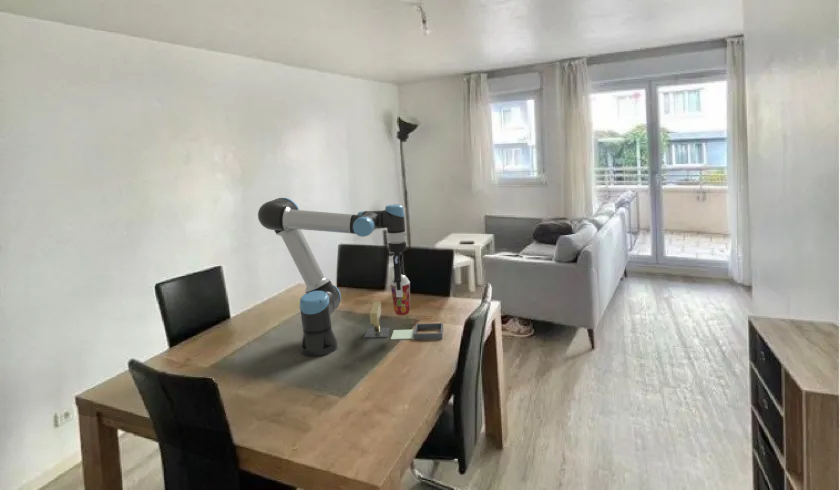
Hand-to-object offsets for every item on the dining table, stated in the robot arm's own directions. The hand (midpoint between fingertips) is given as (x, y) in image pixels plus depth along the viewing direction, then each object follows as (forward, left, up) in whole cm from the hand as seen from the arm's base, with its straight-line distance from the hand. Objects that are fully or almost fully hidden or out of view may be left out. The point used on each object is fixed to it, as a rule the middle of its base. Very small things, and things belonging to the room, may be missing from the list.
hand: (400, 293), depth 212 cm
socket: (+11, +1, -19) cm, 22 cm away
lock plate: (-12, +3, -19) cm, 23 cm away
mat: (0, 0, -19) cm, 19 cm away
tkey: (-12, +2, -18) cm, 22 cm away
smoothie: (0, 0, -9) cm, 9 cm away
